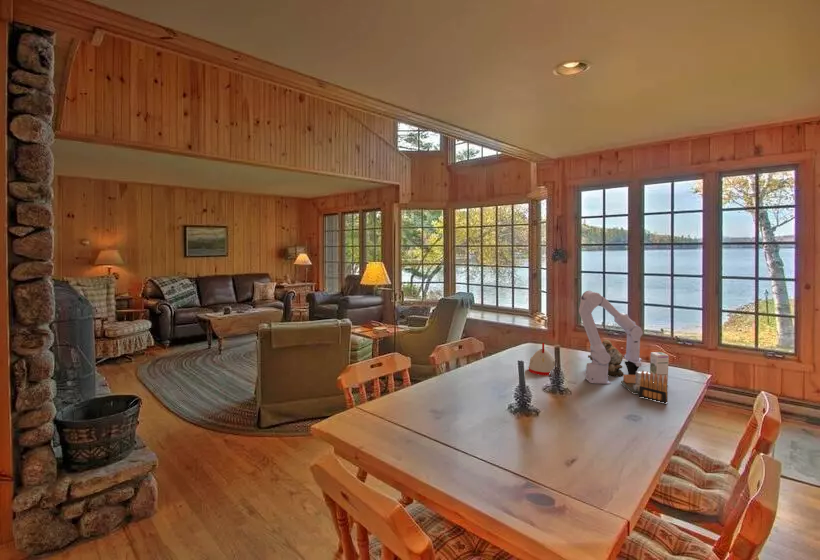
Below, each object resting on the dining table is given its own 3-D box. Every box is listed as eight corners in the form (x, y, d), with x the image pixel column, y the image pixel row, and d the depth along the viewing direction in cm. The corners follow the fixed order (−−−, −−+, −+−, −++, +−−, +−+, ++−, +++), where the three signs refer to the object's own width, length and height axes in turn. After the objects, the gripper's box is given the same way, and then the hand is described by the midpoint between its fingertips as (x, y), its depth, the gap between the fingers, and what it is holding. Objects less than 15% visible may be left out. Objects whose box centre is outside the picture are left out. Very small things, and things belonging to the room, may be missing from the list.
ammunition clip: (638, 397, 180) (639, 370, 180) (640, 396, 182) (641, 369, 181) (665, 404, 172) (667, 376, 171) (667, 403, 173) (668, 375, 172)
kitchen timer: (528, 374, 214) (529, 345, 213) (529, 366, 227) (529, 339, 226) (557, 376, 210) (558, 347, 209) (556, 368, 223) (556, 341, 222)
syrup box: (668, 385, 196) (669, 354, 195) (655, 385, 196) (656, 354, 195) (661, 381, 202) (662, 351, 201) (648, 381, 202) (650, 351, 201)
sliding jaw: (626, 383, 194) (626, 377, 194) (623, 380, 198) (623, 374, 198) (649, 383, 193) (649, 377, 193) (645, 381, 197) (645, 375, 197)
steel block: (646, 386, 190) (647, 371, 189) (649, 388, 187) (650, 373, 186) (635, 386, 190) (635, 371, 190) (638, 388, 187) (638, 373, 187)
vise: (633, 394, 184) (634, 386, 184) (620, 383, 198) (621, 376, 198) (662, 395, 183) (662, 387, 183) (647, 384, 197) (647, 377, 197)
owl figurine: (582, 370, 220) (583, 338, 218) (593, 366, 228) (593, 335, 226) (618, 378, 206) (619, 344, 205) (627, 373, 214) (629, 340, 213)
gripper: (648, 353, 192) (647, 382, 193) (635, 345, 206) (634, 372, 207) (632, 353, 193) (631, 381, 194) (620, 345, 207) (619, 372, 208)
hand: (631, 377), depth 201 cm, fingers closed
